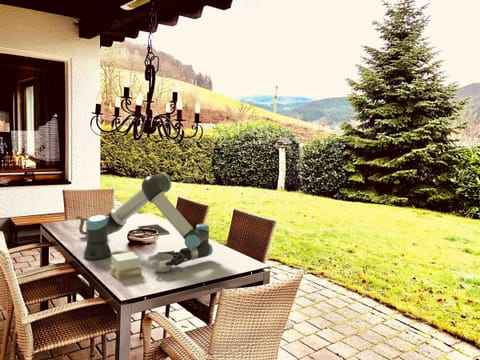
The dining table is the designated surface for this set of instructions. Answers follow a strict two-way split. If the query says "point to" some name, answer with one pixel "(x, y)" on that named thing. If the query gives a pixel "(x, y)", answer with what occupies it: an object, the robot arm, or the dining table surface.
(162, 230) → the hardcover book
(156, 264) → the teacup
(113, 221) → the robot arm
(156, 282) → the dining table surface
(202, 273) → the dining table surface
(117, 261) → the tower top
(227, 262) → the dining table surface
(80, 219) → the tankard
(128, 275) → the tower base
